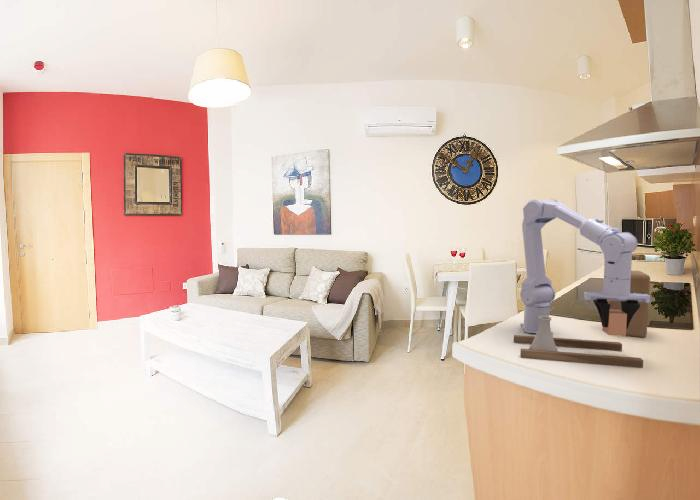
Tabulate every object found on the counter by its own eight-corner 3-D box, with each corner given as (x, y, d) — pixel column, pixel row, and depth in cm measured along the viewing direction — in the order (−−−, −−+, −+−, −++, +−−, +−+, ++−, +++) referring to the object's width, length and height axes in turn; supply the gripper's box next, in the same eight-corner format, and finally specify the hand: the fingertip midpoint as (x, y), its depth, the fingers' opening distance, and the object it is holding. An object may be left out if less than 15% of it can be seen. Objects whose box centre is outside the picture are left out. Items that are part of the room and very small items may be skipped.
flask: (532, 344, 105) (533, 312, 104) (560, 350, 100) (561, 316, 99) (527, 352, 99) (528, 318, 98) (556, 358, 94) (557, 322, 94)
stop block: (602, 330, 97) (603, 309, 96) (619, 331, 96) (620, 310, 95) (608, 334, 93) (609, 312, 92) (625, 335, 92) (627, 313, 91)
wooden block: (607, 334, 112) (610, 273, 110) (602, 325, 121) (605, 269, 119) (647, 338, 107) (651, 275, 105) (638, 329, 116) (642, 270, 114)
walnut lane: (513, 341, 108) (513, 334, 108) (619, 348, 100) (619, 342, 100) (521, 357, 95) (521, 350, 95) (642, 367, 87) (643, 360, 87)
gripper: (591, 279, 91) (589, 329, 92) (658, 281, 87) (654, 333, 88) (581, 275, 98) (580, 321, 99) (643, 276, 93) (640, 325, 95)
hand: (614, 326), depth 94 cm, fingers closed on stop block, 4 cm apart
